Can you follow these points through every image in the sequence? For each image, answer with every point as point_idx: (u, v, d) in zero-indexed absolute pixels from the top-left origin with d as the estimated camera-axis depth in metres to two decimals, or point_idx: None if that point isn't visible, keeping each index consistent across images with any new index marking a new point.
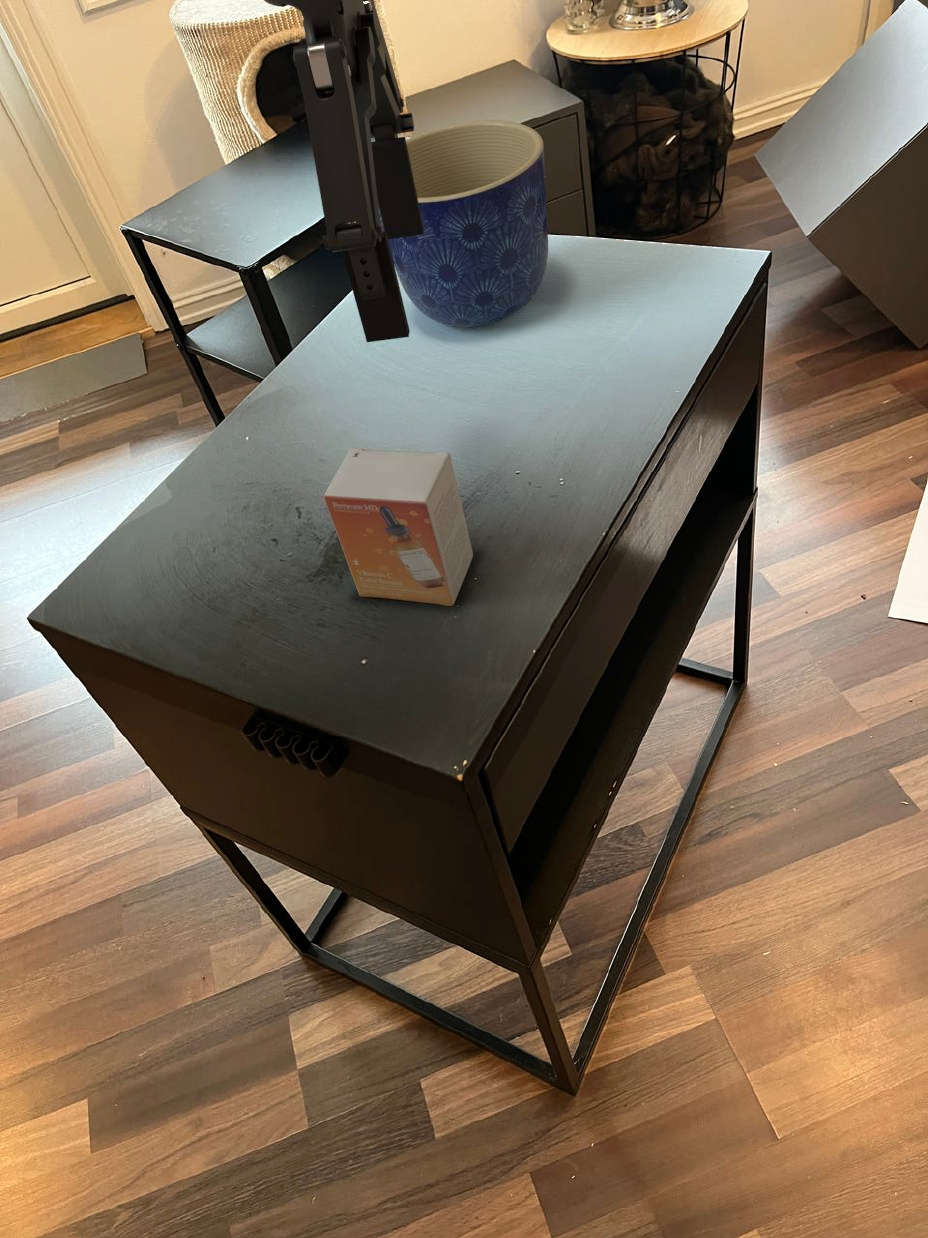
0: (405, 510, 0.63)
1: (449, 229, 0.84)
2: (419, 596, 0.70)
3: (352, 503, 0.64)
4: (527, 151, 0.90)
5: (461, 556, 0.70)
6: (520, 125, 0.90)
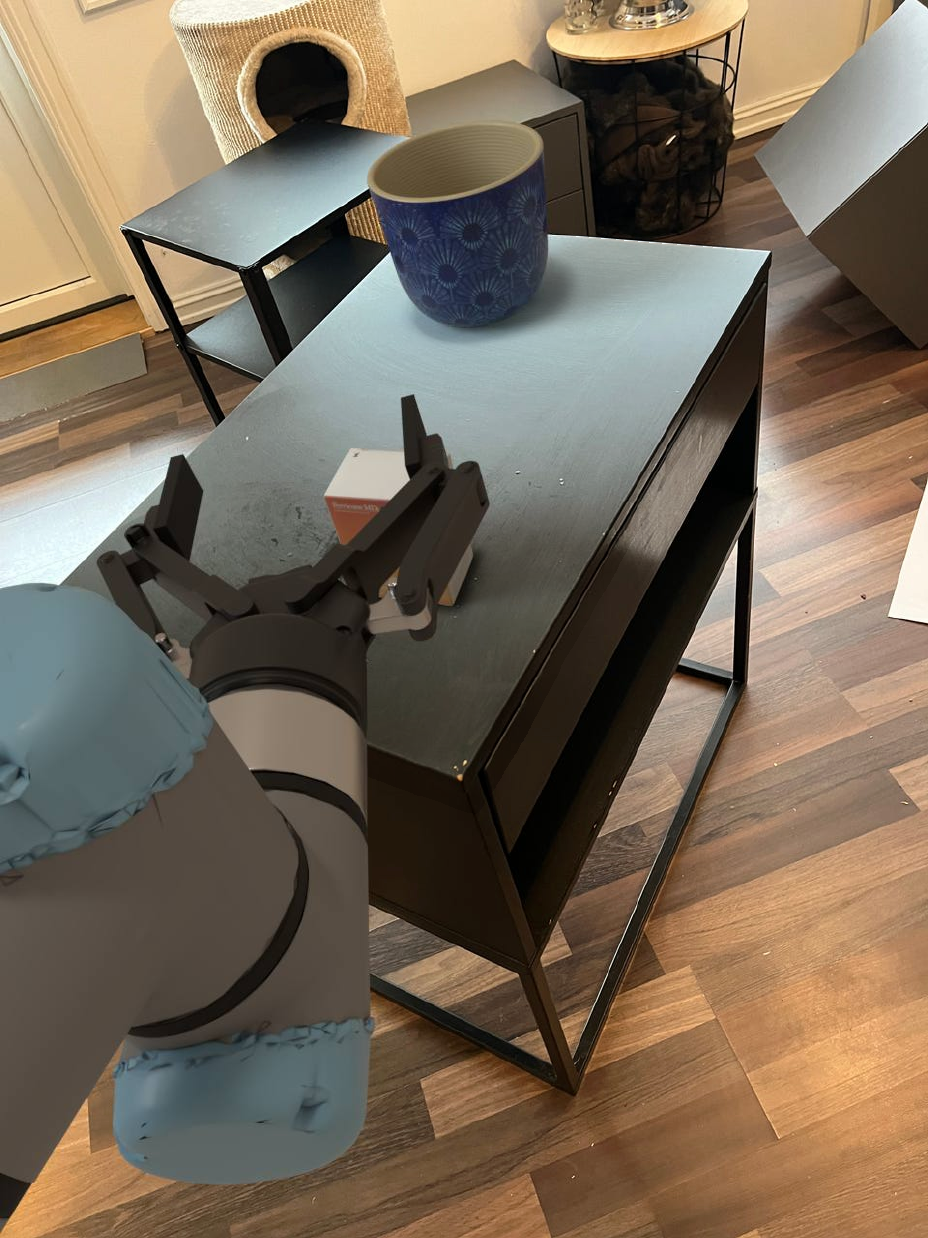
0: None
1: (449, 229, 0.84)
2: None
3: (352, 504, 0.64)
4: (527, 151, 0.90)
5: None
6: (520, 125, 0.90)
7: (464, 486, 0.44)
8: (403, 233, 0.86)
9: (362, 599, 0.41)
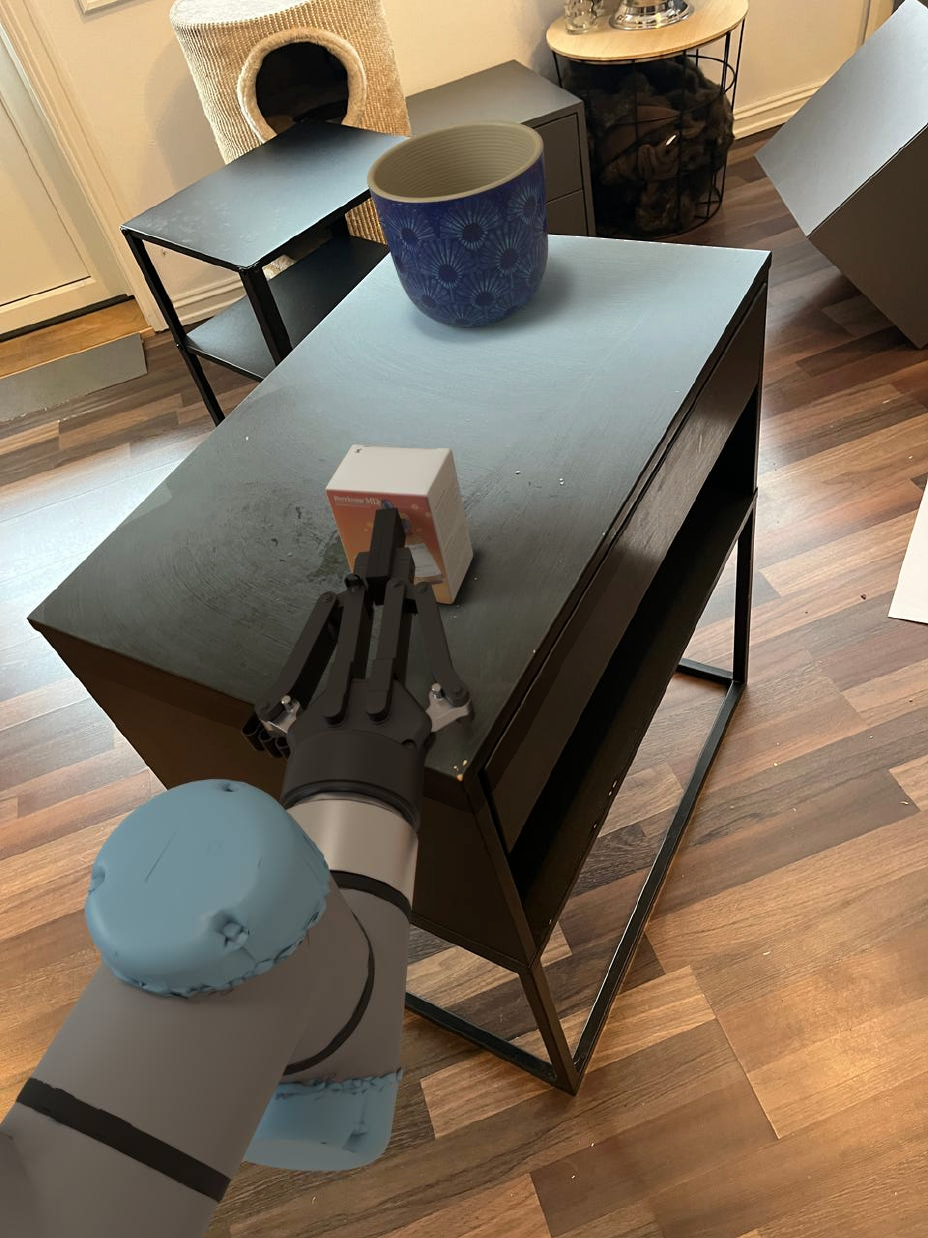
0: (406, 503, 0.63)
1: (449, 229, 0.84)
2: None
3: (353, 497, 0.64)
4: (527, 151, 0.90)
5: (461, 554, 0.70)
6: (520, 125, 0.90)
7: (432, 601, 0.57)
8: (403, 233, 0.86)
9: (427, 716, 0.51)
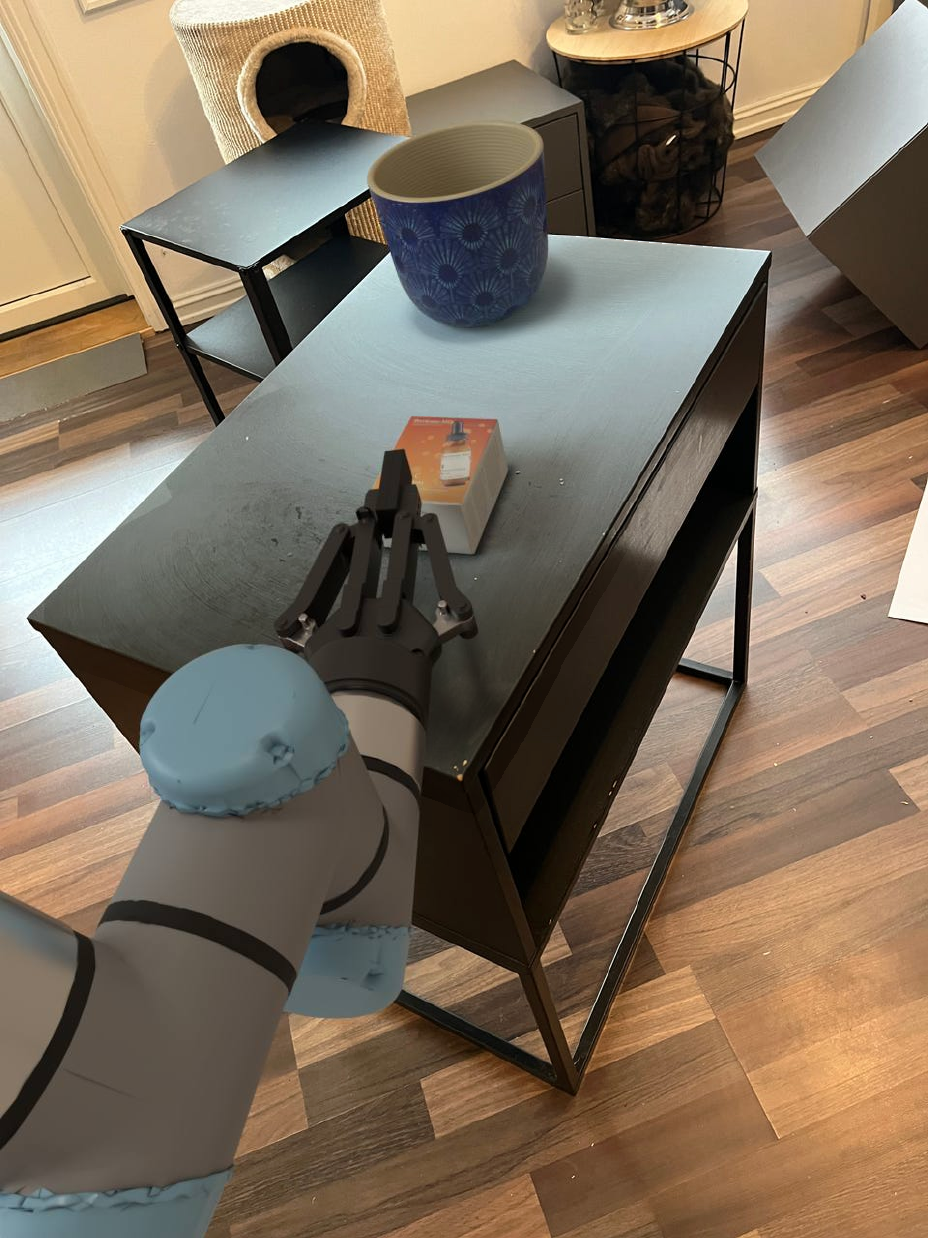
0: (476, 423, 0.75)
1: (449, 229, 0.84)
2: (432, 495, 0.70)
3: (432, 419, 0.77)
4: (527, 151, 0.90)
5: (478, 515, 0.73)
6: (520, 125, 0.90)
7: (437, 530, 0.61)
8: (403, 233, 0.86)
9: (434, 629, 0.56)
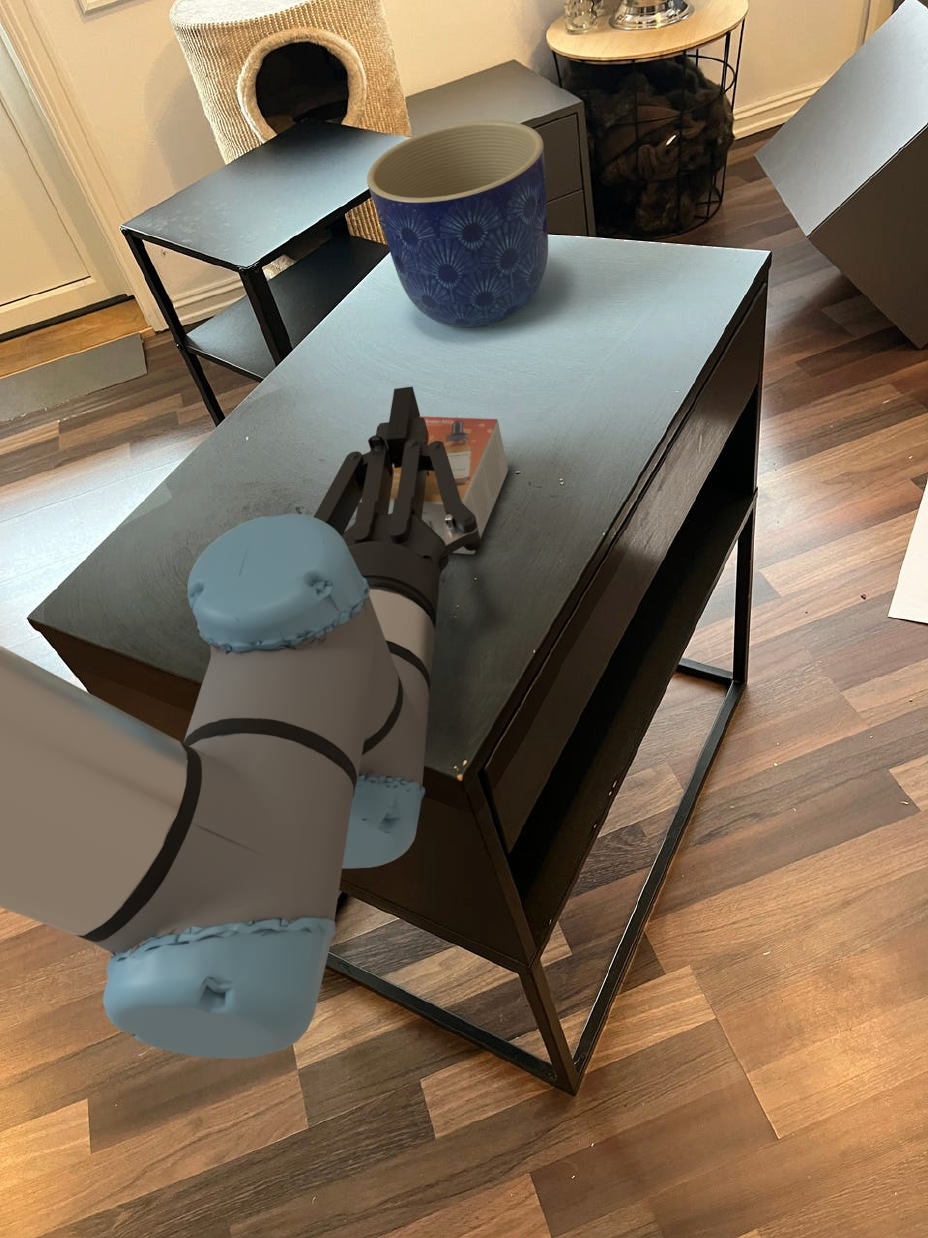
0: (476, 423, 0.75)
1: (449, 229, 0.84)
2: (432, 495, 0.70)
3: (432, 419, 0.77)
4: (527, 151, 0.90)
5: (478, 515, 0.73)
6: (520, 125, 0.90)
7: (444, 455, 0.66)
8: (403, 233, 0.86)
9: (441, 539, 0.61)
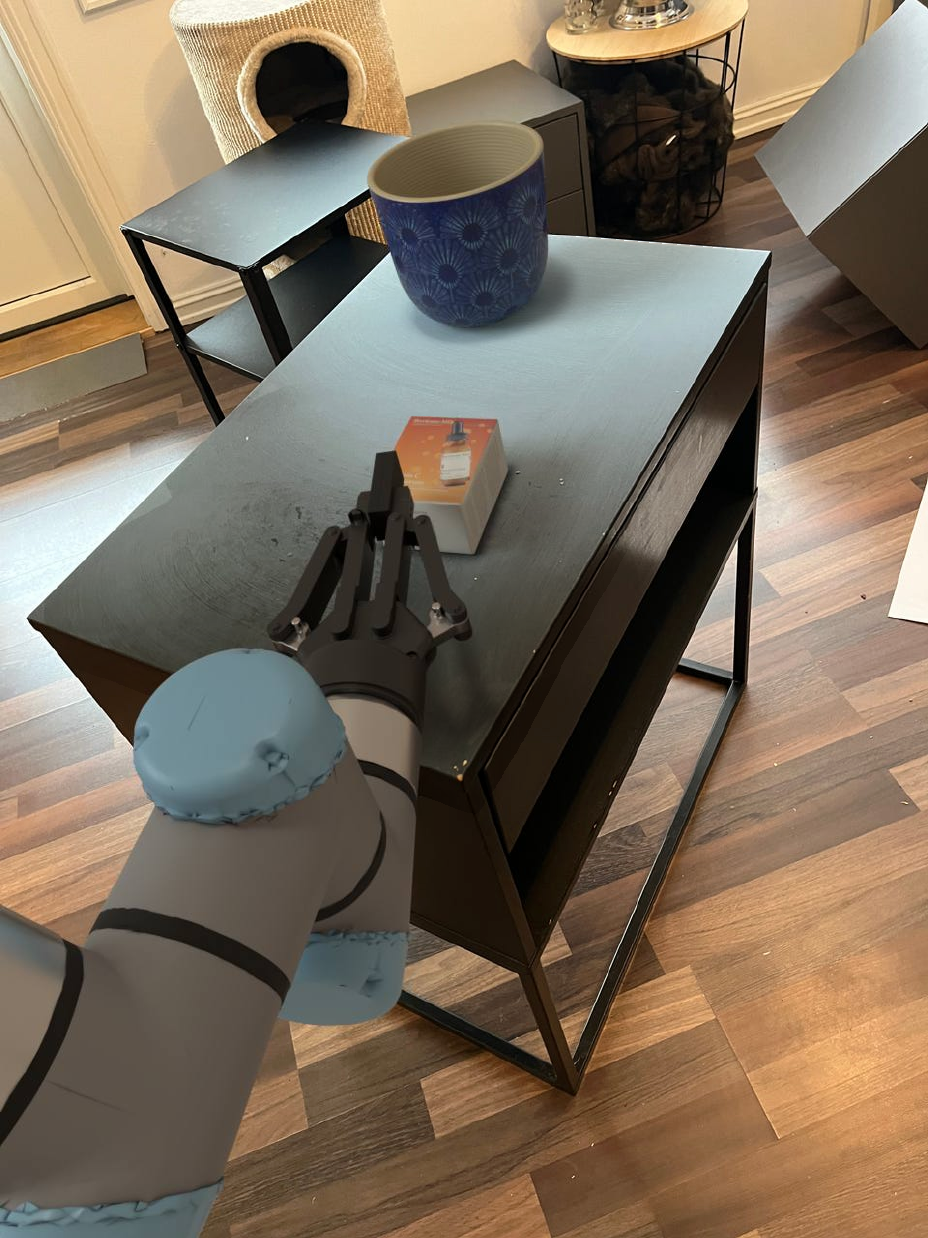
0: (476, 423, 0.75)
1: (449, 229, 0.84)
2: (432, 495, 0.70)
3: (432, 419, 0.77)
4: (527, 151, 0.90)
5: (478, 515, 0.73)
6: (520, 125, 0.90)
7: (430, 532, 0.61)
8: (403, 233, 0.86)
9: (428, 631, 0.55)
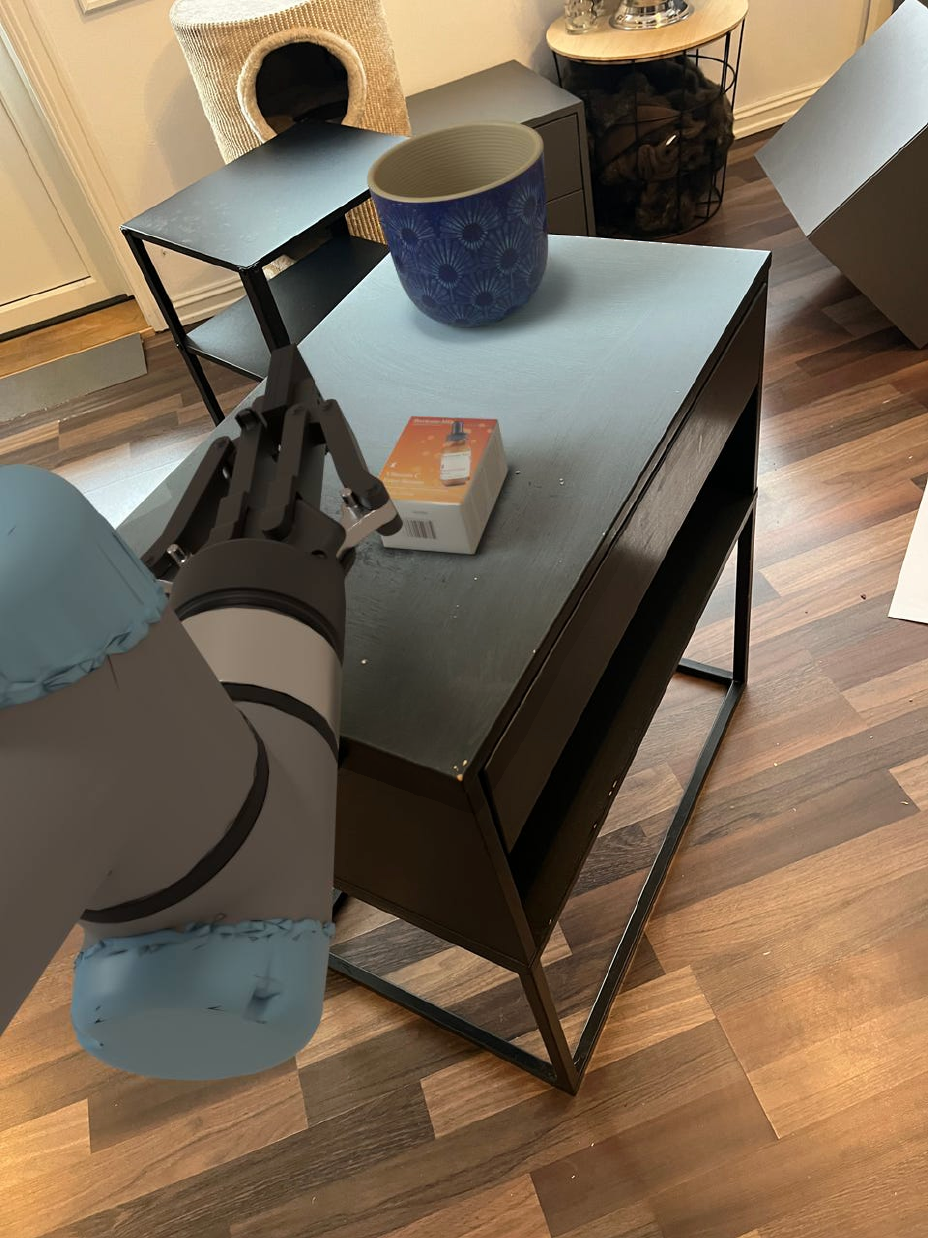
0: (476, 423, 0.75)
1: (449, 229, 0.84)
2: (432, 495, 0.70)
3: (432, 419, 0.77)
4: (527, 151, 0.90)
5: (478, 515, 0.73)
6: (520, 125, 0.90)
7: (337, 415, 0.47)
8: (403, 233, 0.86)
9: (338, 524, 0.41)
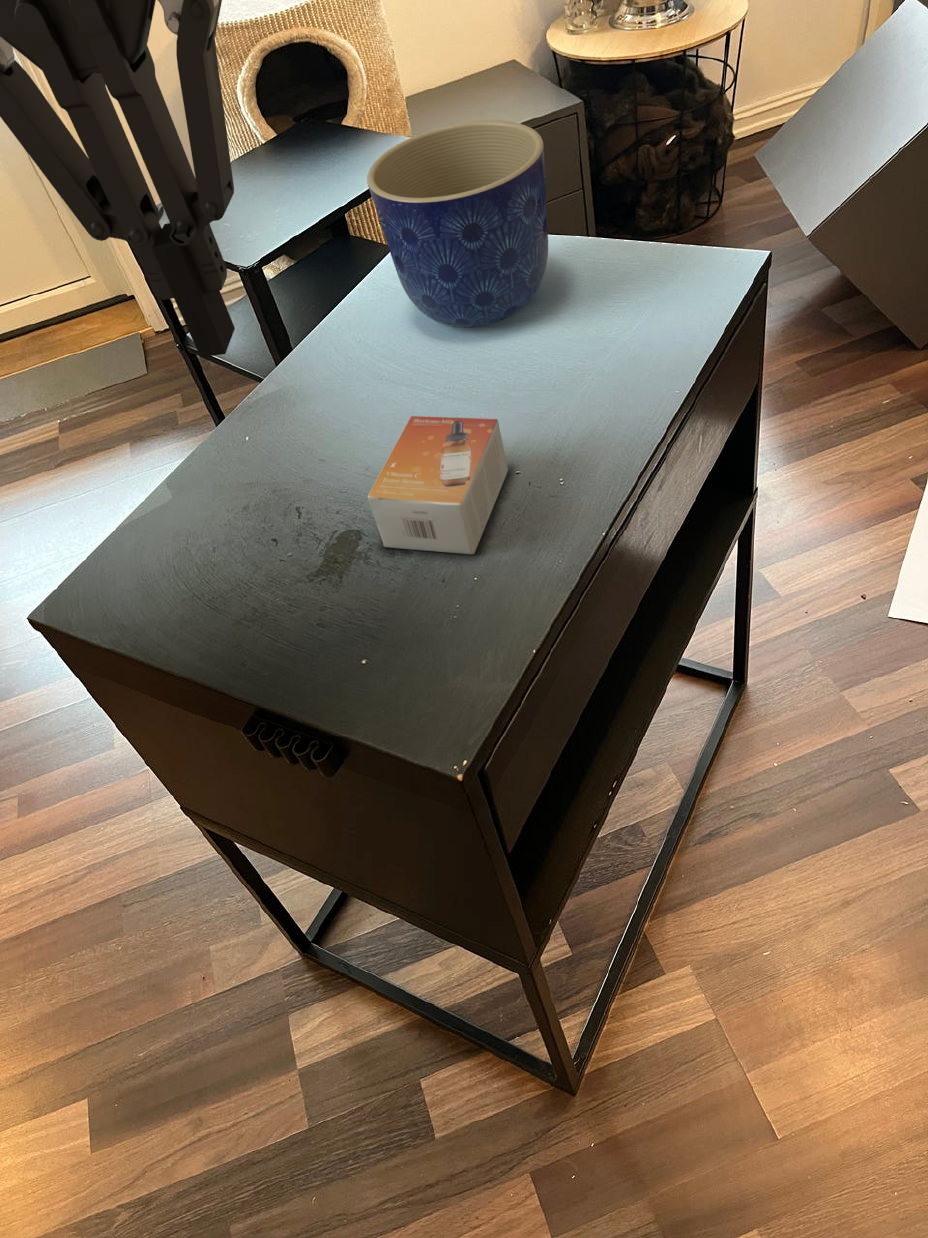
0: (476, 423, 0.75)
1: (449, 229, 0.84)
2: (432, 495, 0.70)
3: (432, 419, 0.77)
4: (527, 151, 0.90)
5: (478, 515, 0.73)
6: (520, 125, 0.90)
7: (73, 207, 0.46)
8: (403, 233, 0.86)
9: None
